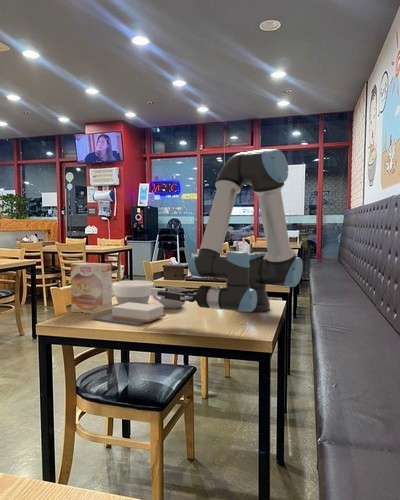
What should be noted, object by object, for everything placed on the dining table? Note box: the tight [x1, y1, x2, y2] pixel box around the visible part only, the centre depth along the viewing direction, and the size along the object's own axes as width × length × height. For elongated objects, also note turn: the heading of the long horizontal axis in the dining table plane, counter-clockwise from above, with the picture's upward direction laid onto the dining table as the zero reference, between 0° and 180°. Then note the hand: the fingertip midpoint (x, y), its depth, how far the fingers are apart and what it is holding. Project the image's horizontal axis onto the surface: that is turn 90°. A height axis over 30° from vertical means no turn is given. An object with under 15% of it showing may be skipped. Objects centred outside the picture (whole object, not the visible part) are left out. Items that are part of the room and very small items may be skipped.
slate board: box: [90, 306, 166, 327], centre depth 151 cm, size 21×18×2 cm
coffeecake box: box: [70, 262, 113, 314], centre depth 161 cm, size 15×7×20 cm, turn 70°
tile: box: [112, 302, 164, 323], centre depth 149 cm, size 4×10×16 cm
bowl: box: [112, 280, 155, 305], centre depth 176 cm, size 18×18×9 cm
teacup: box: [152, 286, 186, 310], centre depth 169 cm, size 14×11×8 cm
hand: (152, 291), depth 145 cm, fingers closed
